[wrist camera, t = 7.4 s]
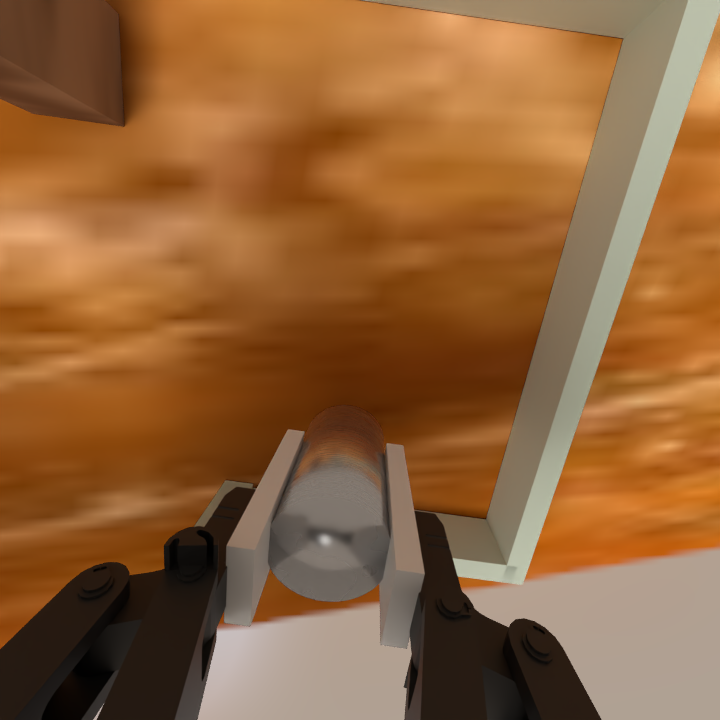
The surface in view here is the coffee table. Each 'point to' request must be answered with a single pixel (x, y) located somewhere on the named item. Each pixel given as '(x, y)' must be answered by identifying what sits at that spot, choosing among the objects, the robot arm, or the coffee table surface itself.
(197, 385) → the coffee table surface
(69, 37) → the walnut block
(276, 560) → the metal cylinder
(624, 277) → the bay
